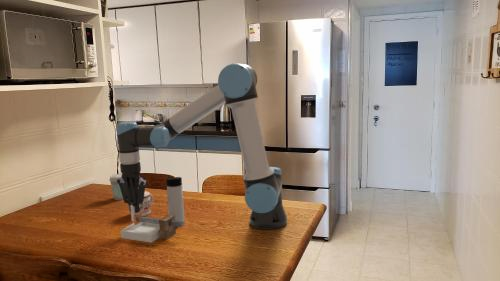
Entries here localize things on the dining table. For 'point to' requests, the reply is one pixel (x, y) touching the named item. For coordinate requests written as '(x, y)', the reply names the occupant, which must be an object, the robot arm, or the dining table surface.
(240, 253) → the dining table surface
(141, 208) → the teacup with lid
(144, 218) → the pin
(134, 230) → the tray
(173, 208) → the travel mug
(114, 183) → the coffee cup
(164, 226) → the pin mount
